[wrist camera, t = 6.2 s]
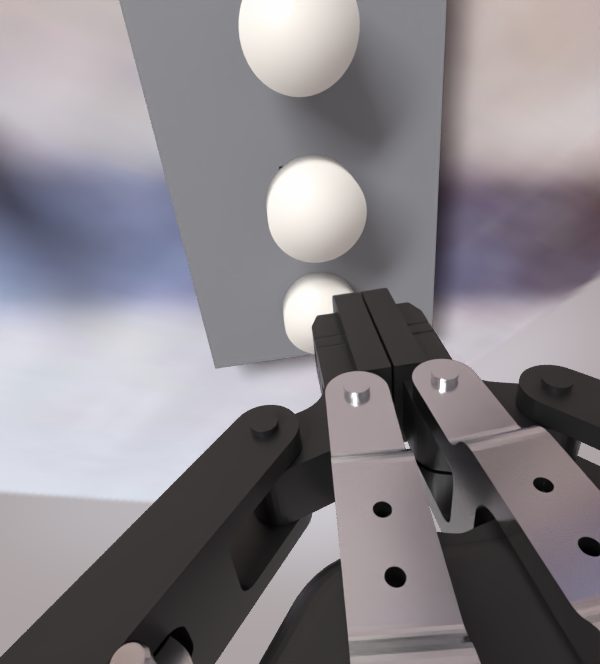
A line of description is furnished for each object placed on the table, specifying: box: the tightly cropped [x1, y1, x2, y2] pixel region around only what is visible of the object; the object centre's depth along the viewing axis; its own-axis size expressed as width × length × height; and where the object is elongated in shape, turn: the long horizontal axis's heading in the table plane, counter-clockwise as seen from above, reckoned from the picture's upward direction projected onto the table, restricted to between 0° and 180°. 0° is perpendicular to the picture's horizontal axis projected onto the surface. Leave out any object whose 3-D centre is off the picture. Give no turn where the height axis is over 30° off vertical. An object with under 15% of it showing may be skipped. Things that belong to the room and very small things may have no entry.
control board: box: [119, 0, 447, 369], centre depth 26 cm, size 21×14×3 cm, turn 7°
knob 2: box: [283, 272, 353, 354], centre depth 29 cm, size 4×4×5 cm
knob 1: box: [239, 0, 360, 97], centre depth 19 cm, size 4×4×5 cm
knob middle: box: [266, 155, 367, 263], centre depth 23 cm, size 4×4×5 cm
